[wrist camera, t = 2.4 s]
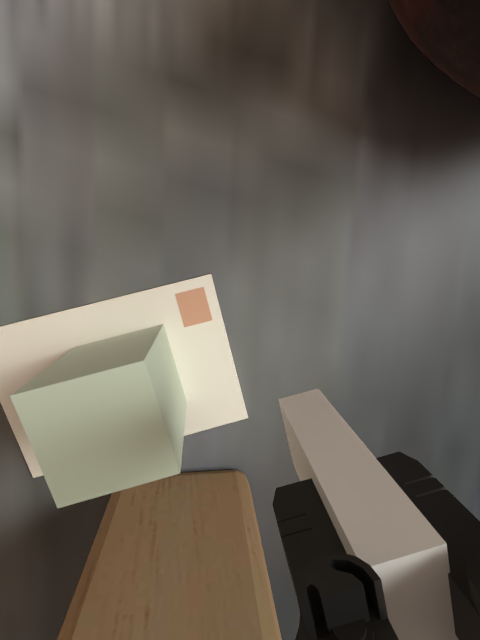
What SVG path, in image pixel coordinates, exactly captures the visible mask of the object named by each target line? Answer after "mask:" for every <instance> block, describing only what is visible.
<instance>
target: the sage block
mask: <svg viewBox="0 0 480 640" xmlns="http://www.w3.org/2000/svg"><path fill="white" fill-rule="evenodd" d="M10 397H11V400H12V402H13V404H14V407H15V409H16V412H17V414H18V416H19V419H20V421H21V423H22V426H23V428H24V430H25V433H26V435H27V437H28V440H29V442H30V444H31V447H32V449H33V452H34V454H35V456H36V459H37V461H38V463H39V466H40V468H41V470H42V473H43V475H44V477H45V480H46V482H47V484H48V487H49V489H50V492H51V494H52V496H53V499H54V501H55V503H56V506H57V508H61V507H65V506H68V505H72V504H75V503H79V502H82V501H86V500H89V499H93V498H96V497H100V496H103V495H107V494H110V493H114V492H117V491H121V490H124V489H128V488H131V487H135V486H138V485H142V484H145V483H148V482H152V481H155V480H159V479H162V478H166V477H169V476H173V475H176V474H180V470H181V459H182V449H183V439H184V428H185V418H186V407H187V401H186V397H185V394H184V391H183V387H182V384H181V381H180V377H179V374H178V371H177V367H176V364H175V361H174V357H173V354H172V351H171V347H170V344H169V341H168V337H167V334H166V331H165V327H164V324H162V325H158V326H154V327H150V328H146V329H142V330H138V331H134V332H131V333H127V334H123V335H119V336H115V337H111V338H107V339H103V340H99V341H96V342H92V343H88V344H84V345H80V346H76V347H75V348H74V349H72V350H71V351H69V352H68V353H67V354H65V355H64V356H63V357H61V358H60V359H59V360H57V361H56V362H55V363H53V364H52V365H51V366H49V367H48V368H47V369H45V370H44V371H43V372H41V373H40V374H39V375H37V376H36V377H34V378H33V379H32V380H30V381H29V382H28V383H26V384H25V385H24V386H22V387H21V388H20V389H18V390H17V391H16V392H14V393H13V394H12V395H10Z"/></svg>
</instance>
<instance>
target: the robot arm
mask: <svg viewBox="0 0 480 640" xmlns="http://www.w3.org/2000/svg"><path fill="white" fill-rule="evenodd" d="M278 400H279V404H280V409H281V413H282V417H283V422H284V426H285V430H286V435H287V439H288V443H289V448H290V452H291V456H292V461H293V465H294V467H295V469H296V472H297V474H298V477H299V479H300V482H296V483H293V484H289V485H286V486H282V487H279V488H276V491H275V496H274V500H273V508H274V512H275V516H276V520H277V524H278V528H279V532H280V536H281V539H282V543H283V547H284V551H285V555H286V559H287V562H288V566H289V570H290V574H291V577H292V581H293V585H294V589H295V592H296V596H297V600H298V604H299V608H300V624H299V629H298V632H297V636H296V639H295V640H458V639H459V640H480V521H479V520H478V519H477V518H476V517H475V516H474V515H473V514H472V513H470V512H469V511H468V510H467V509H466V508H465V507H464V506H463V505H462V504H461V503H460V502H459V501H458V500H457V499H456V498H455V497H454V496H453V495H452V494H451V493H450V492H449V491H448V490H446V489H445V487H444V486H443V485H442V484H441V483H440V482H439V481H438V480H437V479H436V478H433V476H432V474H431V473H430V472H429V471H428V470H427V469H426V468H425V467H424V466H423V465H422V464H421V463H420V462H419V461H417V460H415V459H413V458H411V457H409V456H407V455H405V454H403V453H401V452H396V453H393V454H389V455H386V456H382V457H379V458H375V457H374V455H373V454H372V453H371V452H370V450H369V449H368V448H367V447H366V446H365V444H364V443H363V442H362V441H361V440H360V438H359V437H358V436H357V435H356V434H355V432H354V431H353V430H352V429H351V428H350V426H349V425H348V424H347V423H346V422H345V420H344V419H343V418H342V417H341V416H340V414H339V413H338V412H337V411H336V409H335V408H334V407H333V406H332V405H331V403H330V402H329V401H328V400H327V399H326V397H325V396H324V395H323V394H322V393H321V391H320V390H319V389H315V390H311V391H307V392H304V393H300V394H296V395H293V396H289V397H285V398H282V399H278Z"/></svg>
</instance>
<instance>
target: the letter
mask: <svg viewBox="0 0 480 640" xmlns="http://www.w3.org/2000/svg"><path fill="white" fill-rule="evenodd" d="M162 324H164V327H165V331H166V334H167V337H168V341H169V344H170V347H171V351H172V354H173V357H174V361H175V364H176V367H177V371H178V374H179V377H180V381H181V384H182V387H183V391H184V394H185V397H186V401H187V407H186V418H185V428H184V436H185V435H189V434H192V433H196V432H200V431H203V430H207V429H210V428H214V427H218V426H221V425H225V424H228V423H232V422H235V421H239V420H243V419H246V418H248V416H247V412H246V408H245V404H244V400H243V396H242V392H241V388H240V384H239V381H238V377H237V373H236V369H235V365H234V361H233V357H232V353H231V349H230V346H229V342H228V338H227V334H226V330H225V326H224V322H223V318H222V315H221V311H220V307H219V303H218V299H217V295H216V291H215V287H214V283H213V280H212V276H211V274H208V275H204V276H200V277H196V278H192V279H188V280H184V281H180V282H176V283H172V284H168V285H164V286H160V287H156V288H152V289H148V290H144V291H140V292H136V293H132V294H128V295H124V296H120V297H116V298H112V299H108V300H104V301H100V302H96V303H92V304H88V305H84V306H80V307H76V308H72V309H68V310H64V311H60V312H56V313H52V314H48V315H44V316H40V317H36V318H32V319H28V320H24V321H20V322H16V323H12V324H8V325H4V326H0V403H1V405H2V407H3V409H4V412H5V414H6V416H7V419H8V421H9V423H10V426H11V428H12V430H13V433H14V435H15V437H16V439H17V442H18V444H19V446H20V449H21V451H22V453H23V456H24V458H25V460H26V463H27V465H28V467H29V469H30V472H31V474H32V476H33V478H35V477H39V476H42V475H43V473H42V470H41V468H40V466H39V463H38V461H37V459H36V456H35V454H34V452H33V449H32V447H31V444H30V442H29V440H28V437H27V435H26V433H25V430H24V428H23V426H22V423H21V421H20V419H19V416H18V414H17V412H16V409H15V407H14V404H13V402H12V400H11V397H10V395H12V394H13V393H14V392H16V391H17V390H18V389H20V388H21V387H22V386H24V385H25V384H26V383H28V382H29V381H30V380H32V379H33V378H34V377H36V376H37V375H39V374H40V373H41V372H43V371H44V370H45V369H47V368H48V367H49V366H51V365H52V364H53V363H55V362H56V361H57V360H59V359H60V358H61V357H63V356H64V355H65V354H67V353H68V352H69V351H71V350H72V349H74V348H75V347H76V346H80V345H84V344H88V343H92V342H96V341H99V340H103V339H107V338H111V337H115V336H119V335H123V334H127V333H131V332H134V331H138V330H142V329H146V328H150V327H154V326H158V325H162Z"/></svg>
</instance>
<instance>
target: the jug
mask: <svg viewBox="0 0 480 640" xmlns="http://www.w3.org/2000/svg"><path fill="white" fill-rule="evenodd" d="M389 2H390V4H391V6H392V8H393V10H394V12H395V14H396V16H397V18H398V20H399V22H400V23H401V25H402V26H403V28H404V30H405V31H406V33H407V34H408V36H409V37H410V39H411V40H412V41H413V43H414V44H415V46H416V47H417V48H418V49H419V50H420V51H421V52H422V53H423V54H424V55H425V56H426V57H427V58H428V59H429V60H430V61H431V62H432V63H433V64H434V65H435V66H436V67H438V68H439V69H440V70H441V71H443V72H444V73H445V74H447V75H448V76H449V77H450V78H451V79H453V80H454V81H455V82H456V83H458V84H459V85H461V86H462V87H464V88H465V89H466V90H468V91H469V92H471V93H472V94H474V95H476V96H477V97H479V98H480V0H389Z"/></svg>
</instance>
